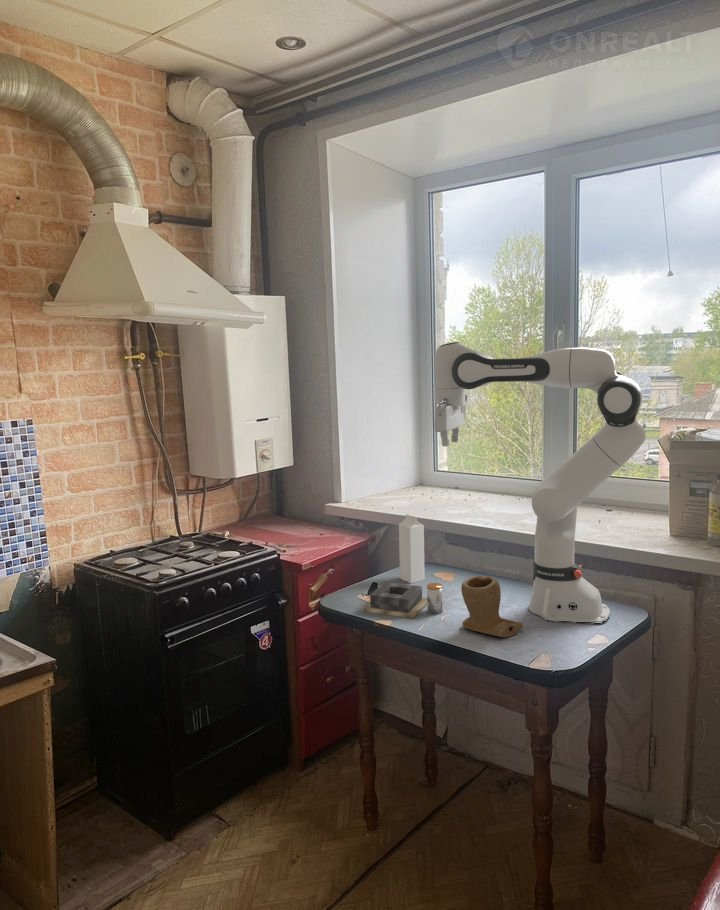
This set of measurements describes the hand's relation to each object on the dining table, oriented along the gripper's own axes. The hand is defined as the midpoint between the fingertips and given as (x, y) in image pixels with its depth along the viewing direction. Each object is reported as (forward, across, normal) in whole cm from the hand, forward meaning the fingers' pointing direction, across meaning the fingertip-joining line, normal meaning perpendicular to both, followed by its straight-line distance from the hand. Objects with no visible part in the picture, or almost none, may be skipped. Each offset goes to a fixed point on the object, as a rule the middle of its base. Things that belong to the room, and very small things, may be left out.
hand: (450, 444), depth 204 cm
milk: (+48, +12, +17) cm, 53 cm away
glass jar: (+48, -13, +1) cm, 50 cm away
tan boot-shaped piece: (+48, -22, -17) cm, 56 cm away
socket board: (+48, -13, +13) cm, 51 cm away
